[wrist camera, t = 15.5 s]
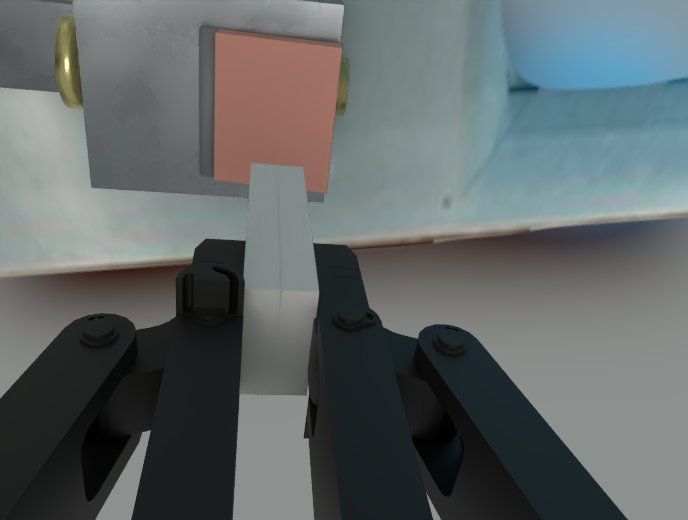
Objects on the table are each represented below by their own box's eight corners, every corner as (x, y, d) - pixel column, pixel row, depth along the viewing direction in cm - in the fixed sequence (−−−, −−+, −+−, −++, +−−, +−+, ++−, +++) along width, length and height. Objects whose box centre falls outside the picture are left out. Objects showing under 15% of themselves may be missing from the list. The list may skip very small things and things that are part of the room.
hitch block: (-148, 109, 37) (-260, 165, 29) (-203, -79, 32) (-356, -72, 24) (314, 145, 41) (323, 202, 33) (329, -18, 36) (344, 5, 28)
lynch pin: (85, 94, 36) (61, 119, 32) (77, 8, 34) (49, 23, 30) (336, 115, 38) (343, 141, 34) (345, 35, 36) (354, 53, 32)
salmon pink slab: (195, 177, 30) (326, 192, 30) (194, 29, 27) (341, 48, 27) (201, 168, 31) (327, 182, 32) (201, 25, 28) (342, 42, 28)
